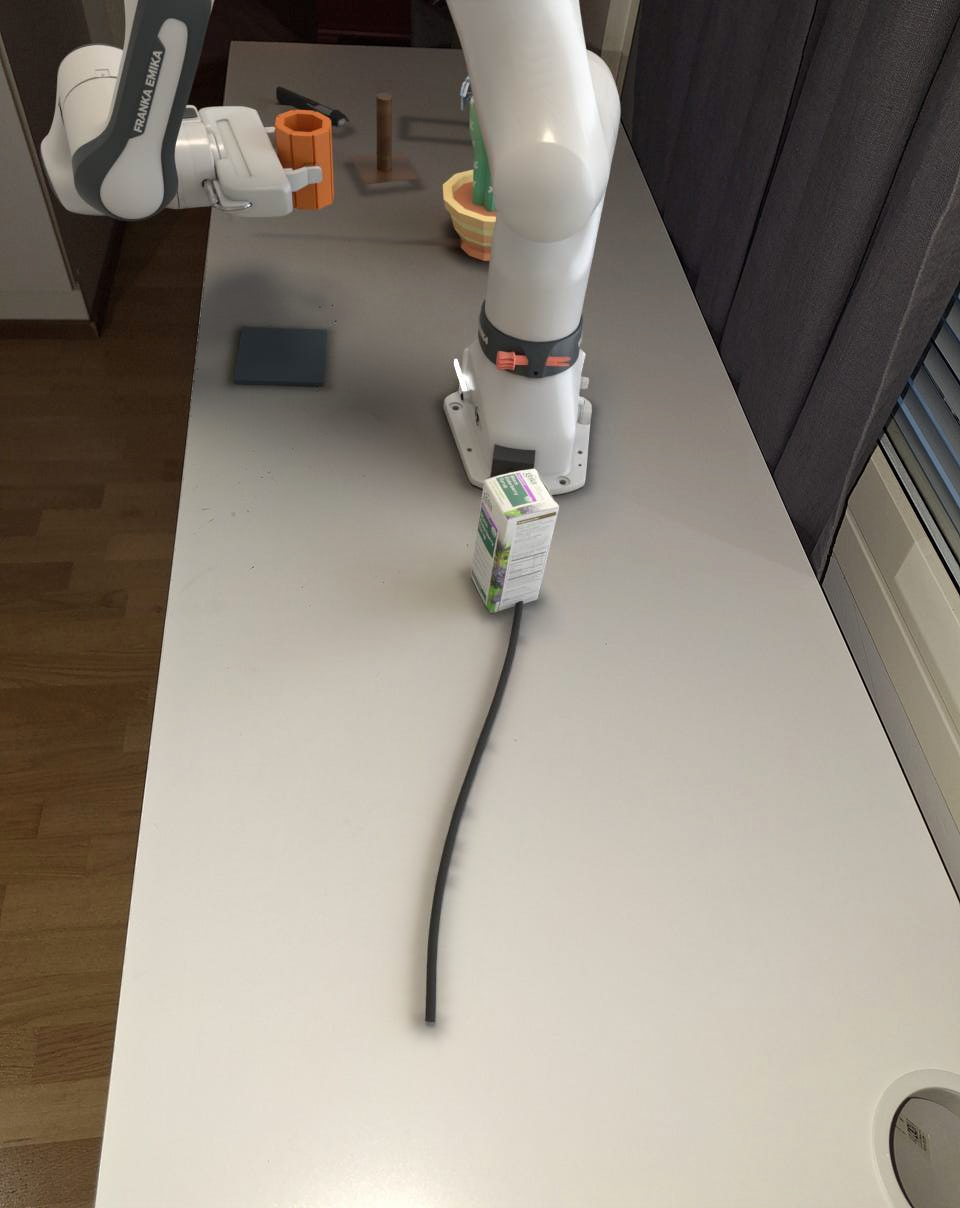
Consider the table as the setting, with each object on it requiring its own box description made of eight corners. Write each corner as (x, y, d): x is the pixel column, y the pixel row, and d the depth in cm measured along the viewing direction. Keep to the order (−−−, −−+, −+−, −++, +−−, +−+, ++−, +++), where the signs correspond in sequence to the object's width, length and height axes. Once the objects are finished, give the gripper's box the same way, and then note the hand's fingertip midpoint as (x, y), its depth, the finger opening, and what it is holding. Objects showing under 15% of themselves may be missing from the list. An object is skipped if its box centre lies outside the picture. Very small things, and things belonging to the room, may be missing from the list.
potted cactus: (519, 214, 144) (541, 41, 124) (554, 268, 135) (583, 91, 115) (426, 222, 140) (433, 45, 120) (456, 278, 131) (469, 97, 111)
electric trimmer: (287, 100, 161) (285, 81, 159) (352, 130, 156) (351, 110, 153) (272, 107, 159) (270, 88, 157) (337, 137, 154) (336, 117, 151)
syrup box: (468, 575, 97) (480, 478, 85) (518, 561, 99) (535, 464, 87) (489, 615, 94) (504, 520, 82) (540, 600, 96) (561, 505, 84)
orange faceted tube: (332, 211, 111) (329, 137, 104) (280, 208, 111) (273, 133, 104) (334, 184, 115) (331, 111, 108) (283, 181, 115) (277, 108, 107)
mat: (323, 386, 114) (323, 382, 113) (234, 383, 113) (233, 379, 112) (326, 333, 121) (326, 329, 120) (242, 330, 119) (242, 326, 119)
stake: (418, 187, 146) (421, 107, 136) (365, 193, 143) (364, 111, 134) (402, 160, 151) (403, 81, 141) (349, 165, 148) (347, 84, 139)
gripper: (208, 183, 97) (333, 172, 101) (177, 98, 109) (291, 91, 112) (216, 238, 102) (335, 225, 106) (186, 151, 114) (295, 142, 117)
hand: (312, 155), depth 109 cm, fingers closed on orange faceted tube, 7 cm apart
